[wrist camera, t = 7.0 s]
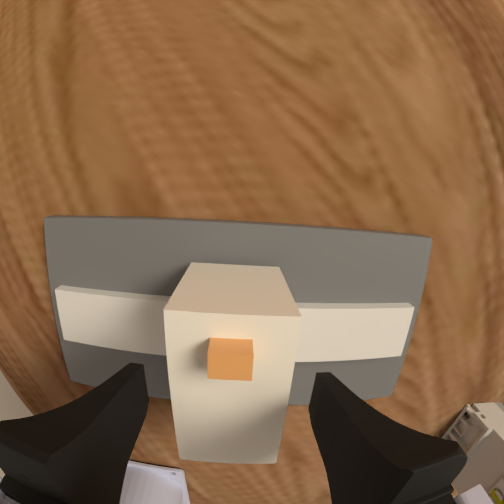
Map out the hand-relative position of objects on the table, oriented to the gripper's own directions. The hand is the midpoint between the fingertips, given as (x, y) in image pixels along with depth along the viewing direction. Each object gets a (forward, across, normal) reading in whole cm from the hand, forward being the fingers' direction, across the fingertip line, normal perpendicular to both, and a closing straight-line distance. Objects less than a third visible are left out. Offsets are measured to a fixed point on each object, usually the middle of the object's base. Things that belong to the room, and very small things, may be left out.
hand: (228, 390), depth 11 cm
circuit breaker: (+7, -30, +16) cm, 35 cm away
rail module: (+5, 0, 0) cm, 5 cm away
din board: (+7, 0, 0) cm, 7 cm away
